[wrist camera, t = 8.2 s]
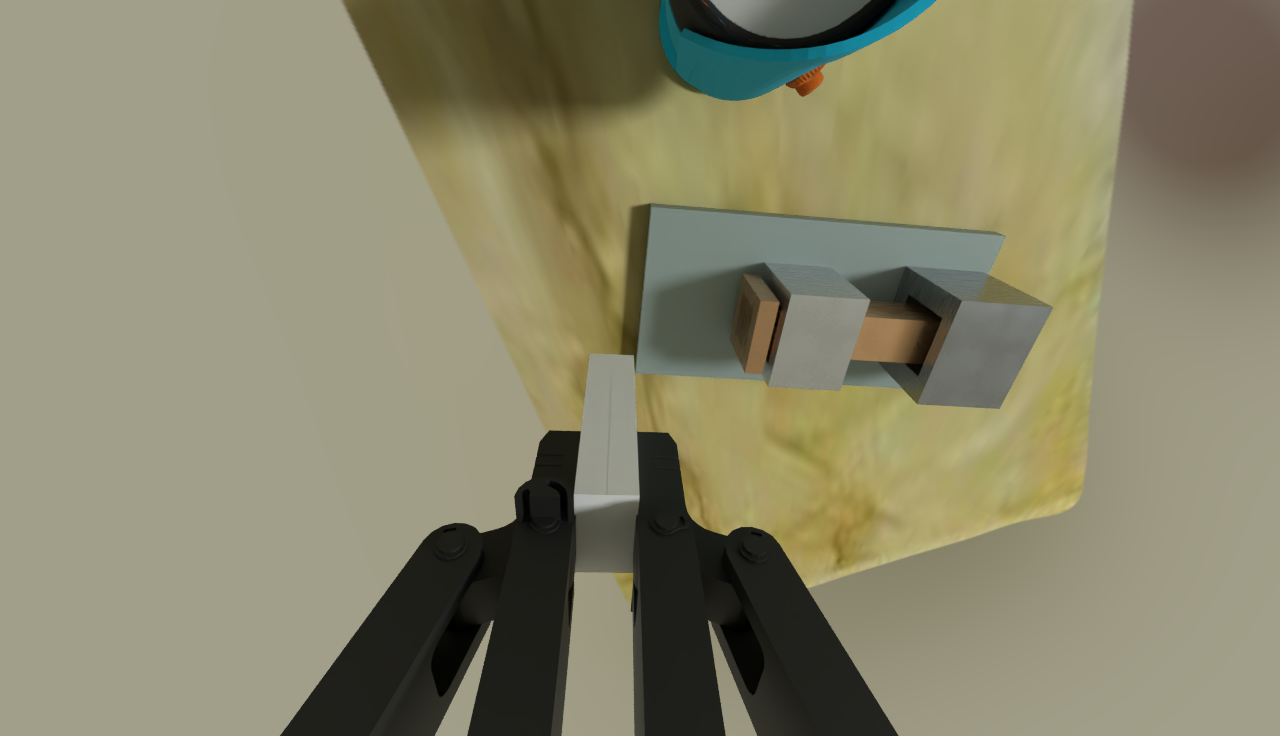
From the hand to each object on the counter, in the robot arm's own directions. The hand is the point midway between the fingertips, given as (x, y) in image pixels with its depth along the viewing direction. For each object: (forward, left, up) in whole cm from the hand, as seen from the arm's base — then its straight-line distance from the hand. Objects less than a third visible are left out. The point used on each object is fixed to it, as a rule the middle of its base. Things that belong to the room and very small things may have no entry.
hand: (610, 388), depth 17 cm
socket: (+4, +24, -20) cm, 32 cm away
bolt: (+4, +17, -19) cm, 25 cm away
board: (+4, +15, -21) cm, 26 cm away
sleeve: (+4, +13, -20) cm, 24 cm away
